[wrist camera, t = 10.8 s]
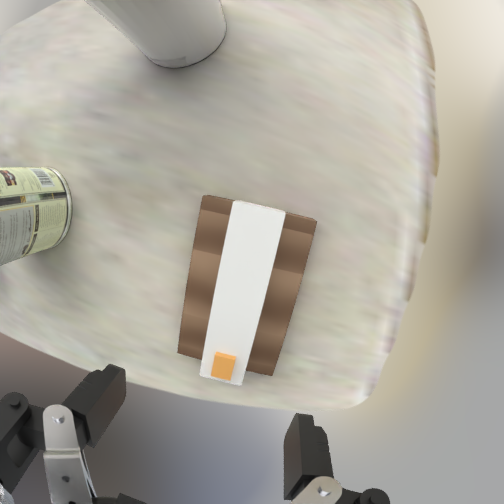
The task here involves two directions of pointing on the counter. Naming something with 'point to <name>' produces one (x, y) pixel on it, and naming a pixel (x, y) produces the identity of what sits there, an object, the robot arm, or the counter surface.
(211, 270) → the mounting board
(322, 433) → the robot arm
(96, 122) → the counter surface
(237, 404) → the counter surface
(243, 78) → the counter surface
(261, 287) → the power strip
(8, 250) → the coffee can
